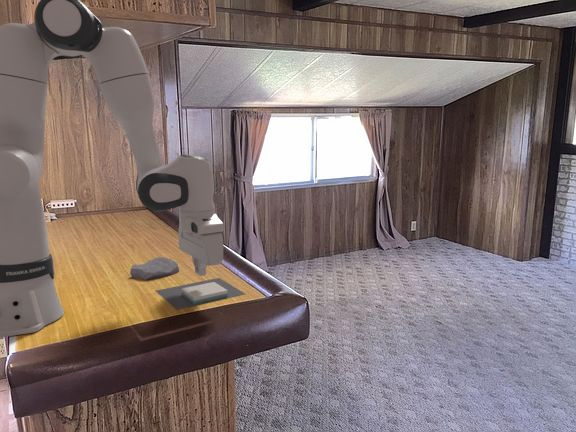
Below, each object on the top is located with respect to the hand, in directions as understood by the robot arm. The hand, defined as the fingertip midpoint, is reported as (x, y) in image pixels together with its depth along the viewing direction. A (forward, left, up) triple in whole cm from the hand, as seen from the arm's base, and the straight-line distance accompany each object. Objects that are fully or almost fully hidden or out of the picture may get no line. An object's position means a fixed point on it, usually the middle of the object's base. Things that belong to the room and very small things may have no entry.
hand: (200, 274), depth 119 cm
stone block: (-4, +24, -6) cm, 25 cm away
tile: (0, +2, -4) cm, 5 cm away
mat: (0, +1, -6) cm, 6 cm away
